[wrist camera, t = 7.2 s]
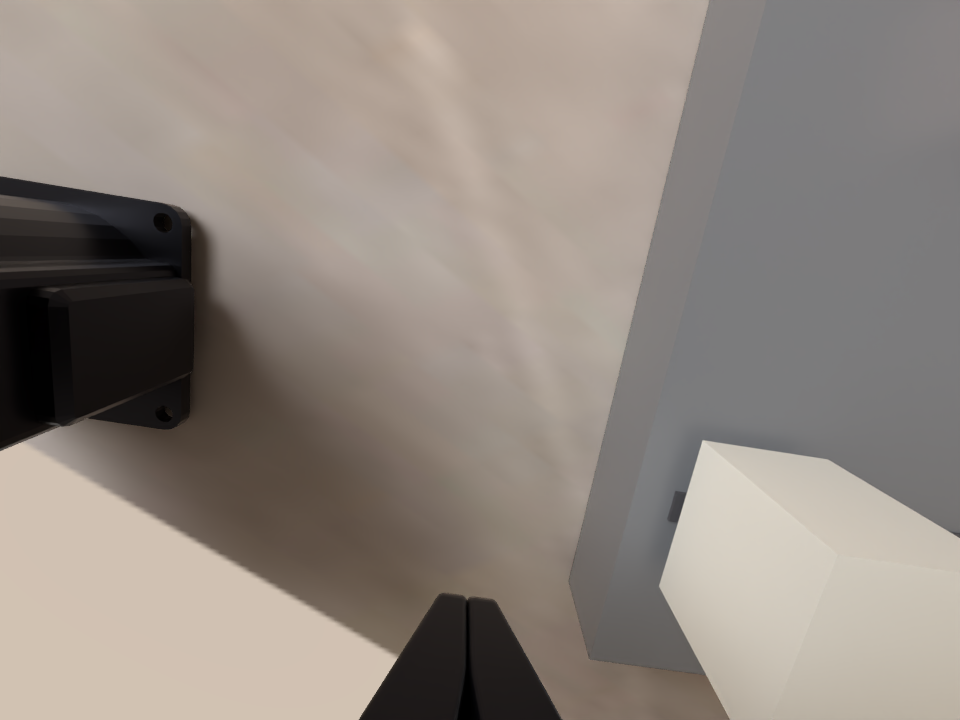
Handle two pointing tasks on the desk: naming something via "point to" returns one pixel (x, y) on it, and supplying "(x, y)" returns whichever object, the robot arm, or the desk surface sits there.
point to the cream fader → (813, 592)
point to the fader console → (788, 288)
